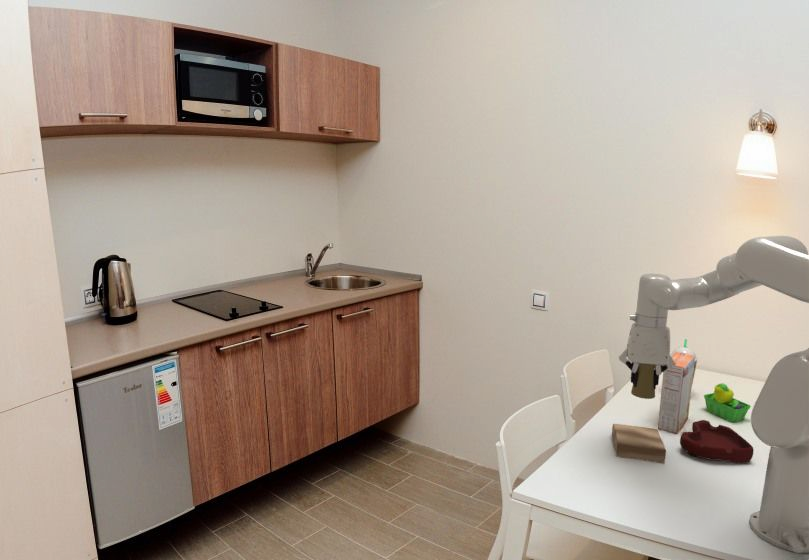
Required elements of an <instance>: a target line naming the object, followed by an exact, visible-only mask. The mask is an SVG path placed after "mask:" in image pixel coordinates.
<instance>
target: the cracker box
mask: <svg viewBox="0 0 809 560" xmlns="http://www.w3.org/2000/svg"><path fill="white" fill-rule="evenodd" d="M671 357H672V359H673V361H674V362H675V366H672V367H670V368H668V369H667V370H665V371H664V372H662V373H663V374H662V380H661V381H662V382H661V391H660V403H659V411H658V412H659V413H658V421H657V422H658V423H657V430H662V431H665V432H669V433H672V434H676V435H677V434H678V433H679V432H680V431H681V429H682V428H683V426H684V424H685V423H686V422H687V420H688V419H689V412H690V403H691V397H692V396H691V395H692V389H691V388H692V387H693V384H692V379H693V371H694V362H695V355H690V354H685V353H680V352H675V353H674V354H673V355H672V356H671ZM693 380H694V379H693Z"/></svg>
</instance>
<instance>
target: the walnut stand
mask: <svg viewBox="0 0 809 560" xmlns="http://www.w3.org/2000/svg"><path fill="white" fill-rule="evenodd" d="M611 440H612V444H613V448H614V452H616V453H615V456H616V457H618V456H620V457H619V458H625V457H626V459H632V458H633V460H640V461H647V460H648V461H649V462H654V461H656V462H655V463H661V462H663V463H664V464H665V462H666V454H667V449H666V447H665V444H664V441H663V439H662V437H661V434H660V432H659V429H658V428H651V427H647V426H646V427H645V426H638V425H637V426H636V425H629V424H621V423H613V424H612V427H611ZM648 461H647V462H648Z"/></svg>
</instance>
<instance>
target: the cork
mask: <svg viewBox="0 0 809 560" xmlns="http://www.w3.org/2000/svg"><path fill="white" fill-rule="evenodd" d="M655 368H656V365H651V364H639V365H638V368H637V373H638V382H637V385H636V387H634V386H633V385H632V387H631V391H630V393H631V395H632V396H634V397H637V398H639V399H645V400H650V399H655V397H656V389H654V384H653V380H654V369H655Z"/></svg>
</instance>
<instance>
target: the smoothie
mask: <svg viewBox="0 0 809 560" xmlns="http://www.w3.org/2000/svg"><path fill="white" fill-rule="evenodd" d="M687 342H688V339H686V338H684V343H683V344H684V345H683V346H679V347H676V348H675V349H673V351H672V353H670V356H672V355H673V354H674V353H675V352H680V353H685V354H690V355H695V362H694V371H693V379H692V385H693V383H694V378H695V373H696V369H697V368H696V367H697V364H698V358H697V355H696V353H695V351H694V350H693V349H691V348H690V347H687V345H688V344H687ZM691 390H692V388H691Z"/></svg>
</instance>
